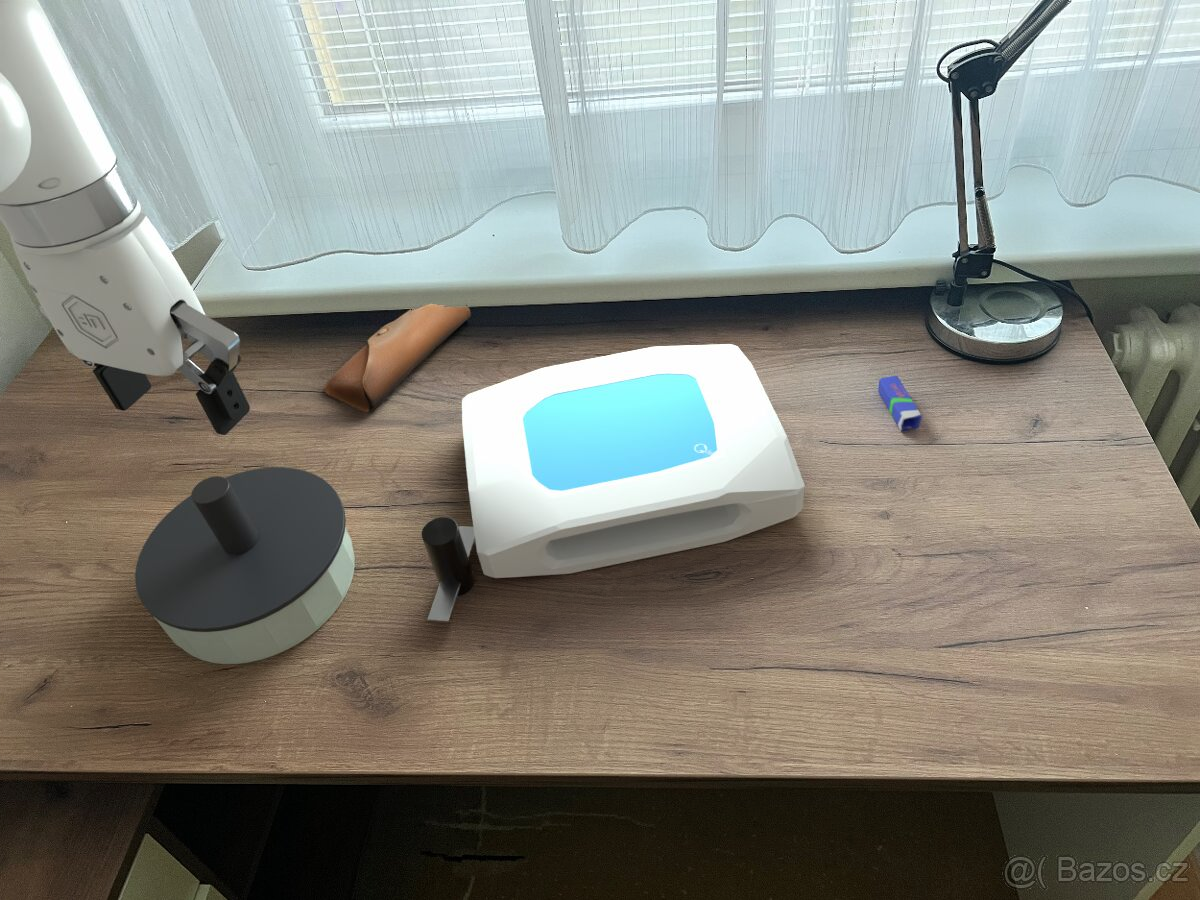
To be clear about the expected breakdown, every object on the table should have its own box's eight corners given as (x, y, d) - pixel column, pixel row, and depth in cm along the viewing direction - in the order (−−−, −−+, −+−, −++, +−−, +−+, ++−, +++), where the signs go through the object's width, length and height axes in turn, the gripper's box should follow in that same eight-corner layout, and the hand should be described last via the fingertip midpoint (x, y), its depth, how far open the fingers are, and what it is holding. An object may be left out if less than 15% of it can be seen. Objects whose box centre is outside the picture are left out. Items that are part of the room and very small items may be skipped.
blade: (459, 632, 72) (440, 581, 67) (425, 630, 73) (403, 579, 68) (488, 538, 79) (472, 486, 74) (456, 537, 80) (438, 485, 75)
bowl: (205, 702, 70) (178, 668, 66) (143, 578, 80) (116, 543, 76) (387, 588, 76) (371, 552, 73) (308, 486, 86) (291, 450, 83)
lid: (193, 677, 66) (147, 620, 61) (110, 554, 76) (64, 495, 71) (386, 544, 74) (360, 483, 69) (287, 447, 84) (258, 387, 79)
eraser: (899, 433, 83) (902, 417, 82) (876, 393, 88) (879, 377, 86) (919, 430, 83) (922, 414, 82) (896, 389, 88) (898, 374, 86)
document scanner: (470, 429, 90) (458, 382, 86) (734, 377, 92) (735, 329, 87) (488, 591, 75) (473, 545, 71) (803, 526, 76) (808, 478, 72)
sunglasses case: (416, 302, 106) (427, 268, 101) (463, 337, 106) (476, 304, 101) (317, 392, 96) (323, 359, 90) (368, 431, 96) (377, 400, 91)
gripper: (-78, 218, 55) (63, 421, 66) (128, 251, 49) (242, 467, 61) (18, 163, 60) (134, 362, 71) (216, 188, 54) (306, 399, 66)
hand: (183, 410), depth 66 cm, fingers open, 9 cm apart
